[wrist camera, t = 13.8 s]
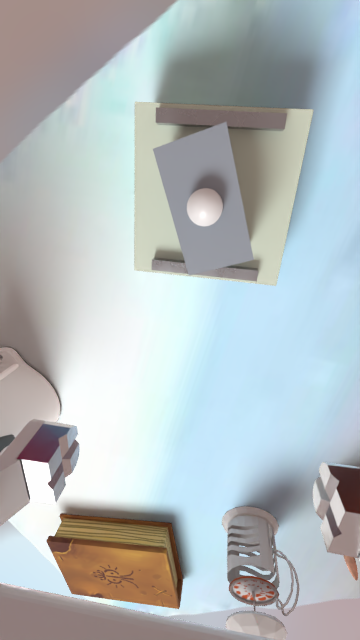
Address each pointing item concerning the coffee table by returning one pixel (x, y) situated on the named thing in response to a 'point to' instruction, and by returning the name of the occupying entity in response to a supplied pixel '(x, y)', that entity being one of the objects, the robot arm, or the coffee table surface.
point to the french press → (255, 535)
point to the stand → (252, 172)
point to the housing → (205, 199)
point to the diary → (119, 559)
